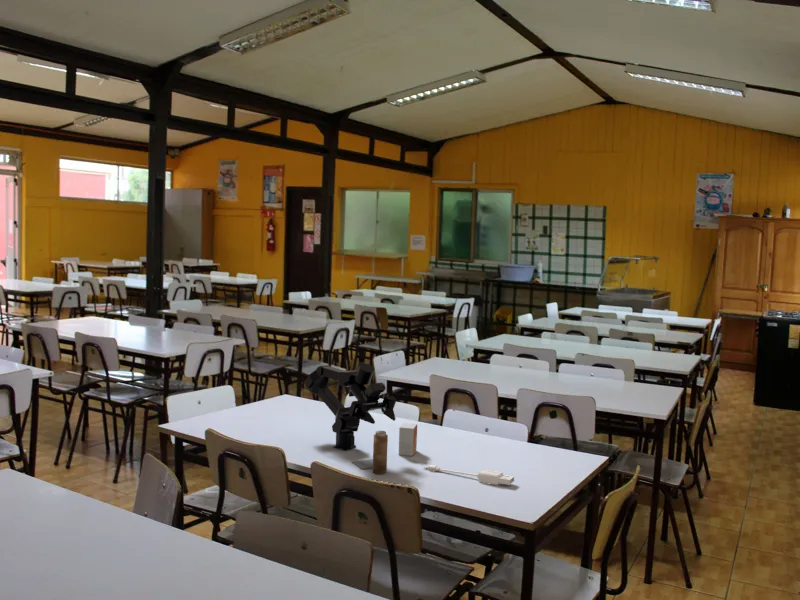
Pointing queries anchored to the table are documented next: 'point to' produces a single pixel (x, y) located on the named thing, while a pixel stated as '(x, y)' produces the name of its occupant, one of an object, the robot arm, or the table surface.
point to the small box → (407, 439)
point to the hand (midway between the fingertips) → (384, 421)
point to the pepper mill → (380, 453)
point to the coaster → (364, 464)
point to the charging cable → (481, 475)
